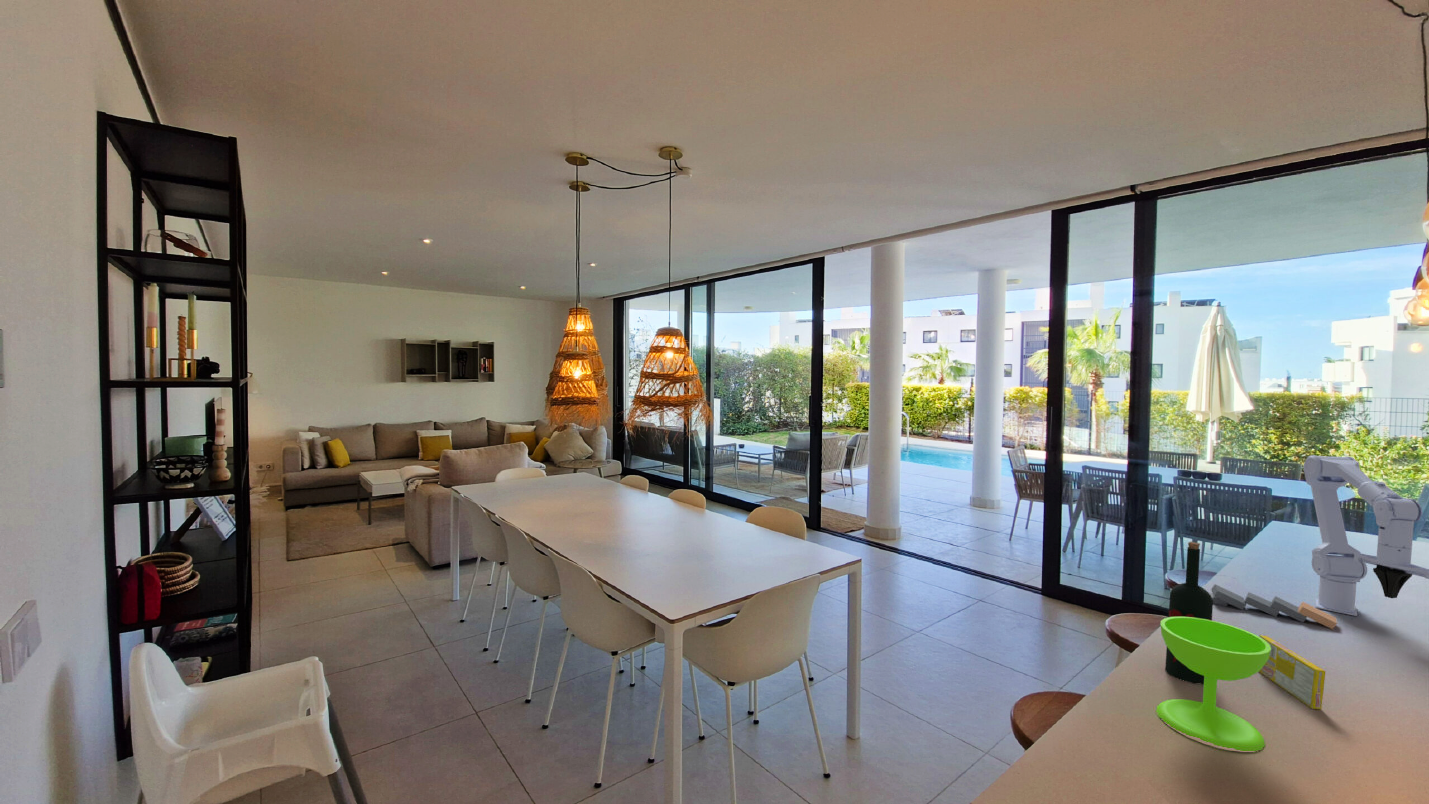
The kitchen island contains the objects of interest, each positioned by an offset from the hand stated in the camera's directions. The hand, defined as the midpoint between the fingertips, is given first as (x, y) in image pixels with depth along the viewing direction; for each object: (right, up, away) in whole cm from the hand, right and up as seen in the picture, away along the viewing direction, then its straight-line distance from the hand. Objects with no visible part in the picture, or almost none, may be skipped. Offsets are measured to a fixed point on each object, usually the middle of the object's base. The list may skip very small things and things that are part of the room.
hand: (1390, 596), depth 150 cm
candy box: (-51, -12, -24) cm, 58 cm away
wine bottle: (-69, -11, -20) cm, 73 cm away
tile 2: (-12, -9, +10) cm, 18 cm away
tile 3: (-16, -9, +14) cm, 23 cm away
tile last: (-23, -9, +21) cm, 33 cm away
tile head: (-8, -9, +6) cm, 14 cm away
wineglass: (-79, -12, -38) cm, 89 cm away
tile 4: (-21, -8, +18) cm, 29 cm away
